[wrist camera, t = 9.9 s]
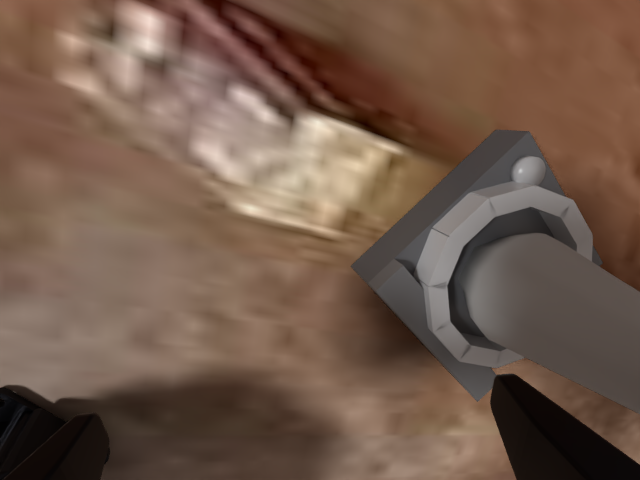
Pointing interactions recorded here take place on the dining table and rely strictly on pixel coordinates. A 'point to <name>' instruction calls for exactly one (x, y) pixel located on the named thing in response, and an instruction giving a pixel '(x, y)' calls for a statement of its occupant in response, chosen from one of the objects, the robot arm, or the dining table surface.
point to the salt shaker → (557, 312)
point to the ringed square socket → (469, 249)
